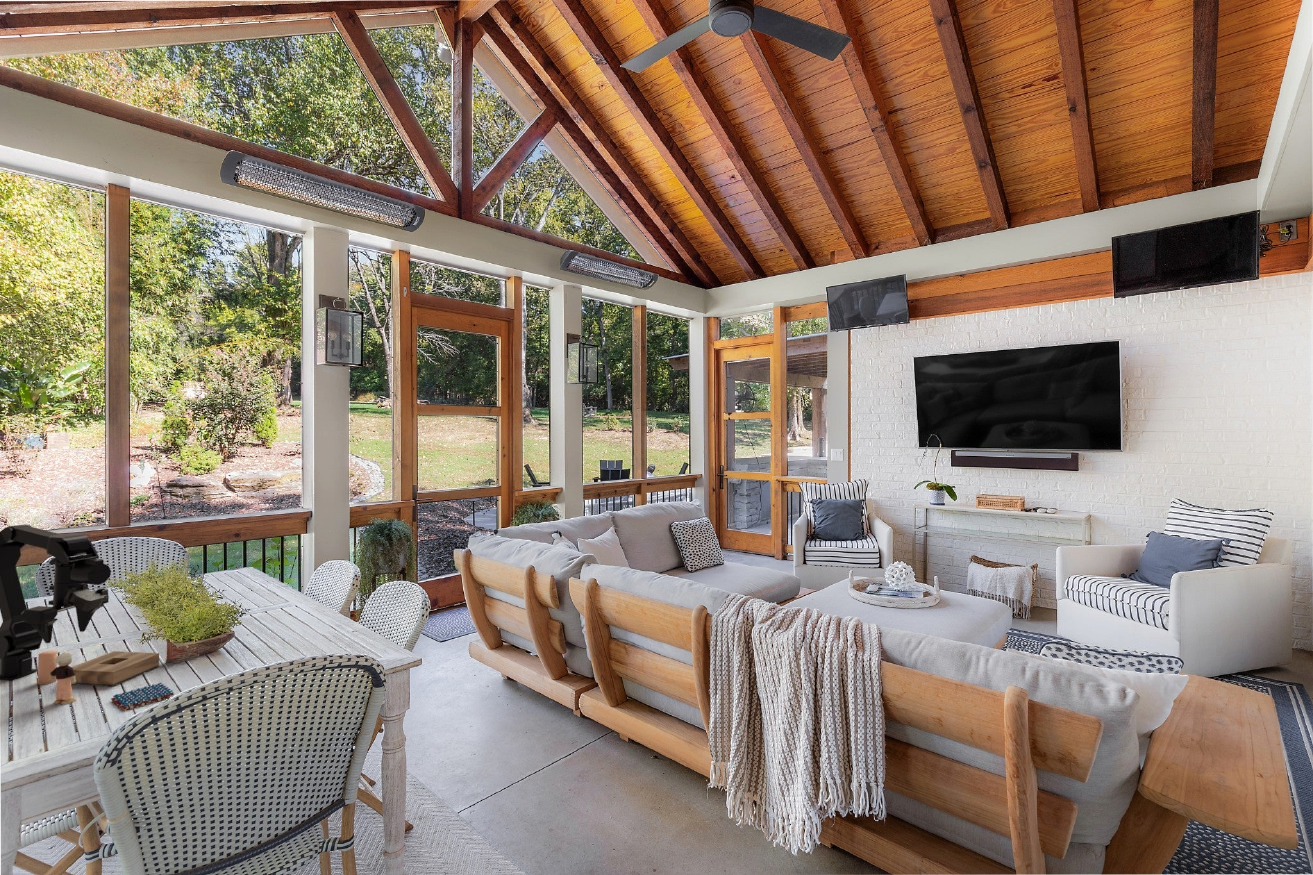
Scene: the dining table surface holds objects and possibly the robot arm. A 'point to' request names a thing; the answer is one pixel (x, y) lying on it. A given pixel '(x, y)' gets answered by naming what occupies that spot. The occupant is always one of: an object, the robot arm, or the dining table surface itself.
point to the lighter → (178, 654)
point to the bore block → (114, 668)
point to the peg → (46, 666)
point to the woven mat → (141, 696)
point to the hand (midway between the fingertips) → (65, 637)
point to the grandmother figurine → (64, 678)
